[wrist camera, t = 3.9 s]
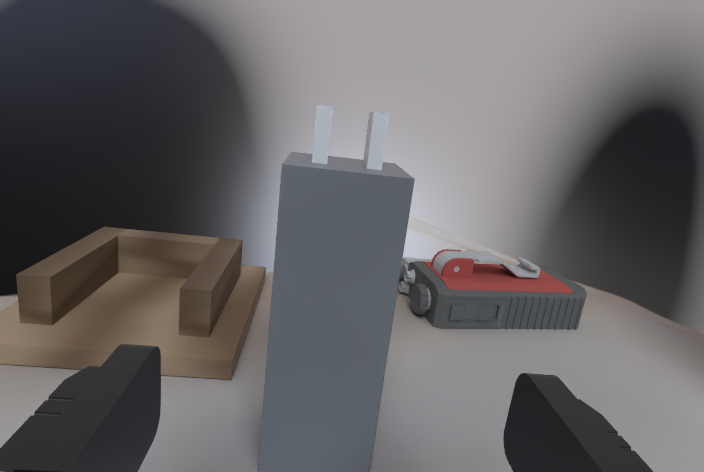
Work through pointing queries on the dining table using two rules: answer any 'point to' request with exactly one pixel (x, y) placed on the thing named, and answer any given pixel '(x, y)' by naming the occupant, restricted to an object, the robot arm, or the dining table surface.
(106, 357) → the tray
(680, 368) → the dining table surface
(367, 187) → the connector plug
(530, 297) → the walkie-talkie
